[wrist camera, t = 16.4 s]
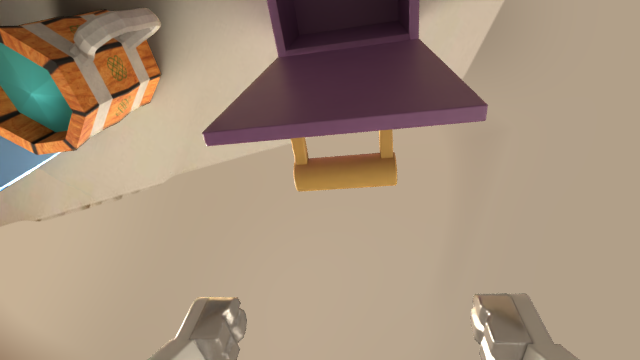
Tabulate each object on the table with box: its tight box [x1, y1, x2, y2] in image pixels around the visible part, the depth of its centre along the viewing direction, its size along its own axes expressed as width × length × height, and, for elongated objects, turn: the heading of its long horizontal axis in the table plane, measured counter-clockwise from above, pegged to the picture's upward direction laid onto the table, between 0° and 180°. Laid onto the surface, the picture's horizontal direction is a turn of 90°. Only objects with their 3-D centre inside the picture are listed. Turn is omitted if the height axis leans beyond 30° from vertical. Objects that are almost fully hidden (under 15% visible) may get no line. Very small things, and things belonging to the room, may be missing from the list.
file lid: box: [202, 39, 488, 191], centre depth 24 cm, size 19×14×5 cm
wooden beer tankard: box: [0, 8, 161, 155], centre depth 37 cm, size 20×14×15 cm
